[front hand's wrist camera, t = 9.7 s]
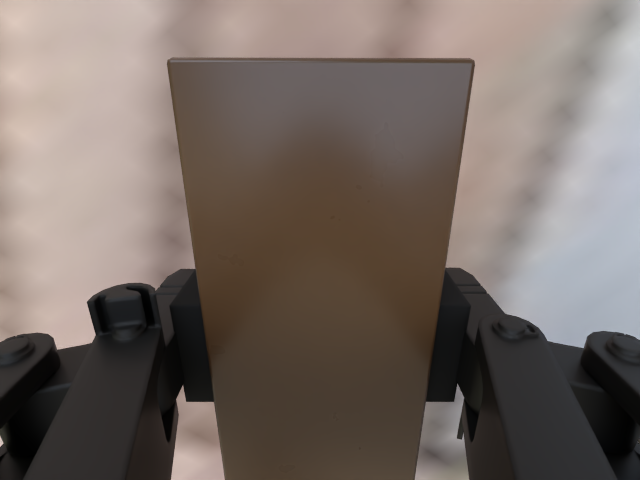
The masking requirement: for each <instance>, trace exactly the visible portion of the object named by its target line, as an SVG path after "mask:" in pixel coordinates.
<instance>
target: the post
mask: <svg viewBox="0 0 640 480" xmlns="http://www.w3.org/2000/svg"><path fill="white" fill-rule="evenodd" d="M167 67H168V74H169V81H170V89H171V96H172V103H173V110H174V117H175V124H176V132H177V139H178V146H179V153H180V160H181V167H182V175H183V182H184V189H185V196H186V203H187V210H188V218H189V225H190V232H191V239H192V246H193V253H194V261H195V268H196V275H197V282H198V289H199V296H200V304H201V311H202V318H203V325H204V332H205V340H206V347H207V354H208V361H209V368H210V375H211V383H212V390H213V397H214V404H215V411H216V418H217V426H218V433H219V440H220V447H221V454H222V461H223V469H224V476H225V480H414V479H415V472H416V465H417V458H418V451H419V445H420V438H421V431H422V424H423V417H424V410H425V403H426V397H427V390H428V383H429V376H430V369H431V362H432V355H433V349H434V342H435V335H436V328H437V321H438V314H439V307H440V301H441V294H442V287H443V280H444V273H445V266H446V259H447V253H448V246H449V239H450V232H451V225H452V218H453V211H454V205H455V198H456V191H457V184H458V177H459V170H460V163H461V157H462V150H463V143H464V136H465V129H466V122H467V115H468V109H469V102H470V95H471V88H472V81H473V74H474V67H475V63H474V60H472V59H470V58H170V59H168V62H167Z"/></svg>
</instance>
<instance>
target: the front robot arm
mask: <svg viewBox="0 0 640 480" xmlns="http://www.w3.org/2000/svg"><path fill="white" fill-rule="evenodd" d="M87 304H88V308H89V312H90V315H91V319H92V323H93V326H94V330H95V333H96V336H95V338H94V340H93V342H92V343H90V344H86V345H81V346H75V347H70V348H65V349H60V350H57V348H56V345H55V342H54V339H53V337H51V336H50V335H48V334H43V333H31V334H21V335H17V336H16V337H15V336H13V337H10V338H7V339H5V340H4V341H2V342H0V436H1V438H2V441H3V443H4V444H3V445H2V446H1V447H0V480H171V473H172V465H173V457H174V449H175V440H176V432H177V424H178V416H179V414H178V407H177V402H176V398H177V396H178V394H179V392H180V390H181V388H182V385H183V386H184V392H185V397H186V402H214V397H213V390H212V383H211V375H210V368H209V361H208V354H207V347H206V340H205V332H204V325H203V318H202V311H201V304H200V296H199V289H198V282H197V275H196V269H180V270H178V271H177V272H175V273H173V274H172V275H170V276H168V277H167V278H166V279H165V281H164V282H163V283H162V284H161V285H160V288H158V289H157V290H156V291H155V288H153V287H152V286H151V285H148V284H143V283H127V284H122V285H117V286H114V287H111V288H108V289H105V290H103V291H101V292H99V293H97V294H95V295H94V296H92V297H91V298H90V299H89V300H88V301H87ZM457 383H458V385H459V387H460V389H461V391H462V394H463V396H464V402H463V407H462V413H461V418H460V423H459V428H458V434H457V439H462V436H463V432H464V440H465V448H466V456H467V464H468V472H469V480H640V444H639V443H638V439H639V437H640V340H638V339H636V338H635V337H633V336H630V335H627V334H626V335H624V334H623V333H618V332H607V331H600V332H593V333H592V334H590V335H589V336H588V337H587V340H586V343H585V346H584V348H579V347H574V346H568V345H563V344H558V343H553V342H549V341H547V339H546V337H545V335H544V334H543V333H542V332H541V330H540V329H539V328H538V327H536V326H535V325H533V324H532V323H530V322H529V321H526V320H524V319H522V318H519V317H517V316H512V315H507V314H505V313H504V312H503V311H502V309H501V308H500V307H499V306H498V305H497V304H496V302H495V301H494V300H493V299H492V298H491V296H490V295H489V294H487V292H486V290H485V289H484V288H483V287H482V286H480V283H479V282H478V281H477V280H476V279H475V277H474V276H473V275H471V274H469V273H468V272H466V271H464V270H463V269H461V268H445V273H444V280H443V287H442V294H441V301H440V307H439V314H438V321H437V328H436V335H435V342H434V349H433V355H432V362H431V369H430V376H429V383H428V390H427V397H426V402H454V399H455V393H456V388H457Z"/></svg>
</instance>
